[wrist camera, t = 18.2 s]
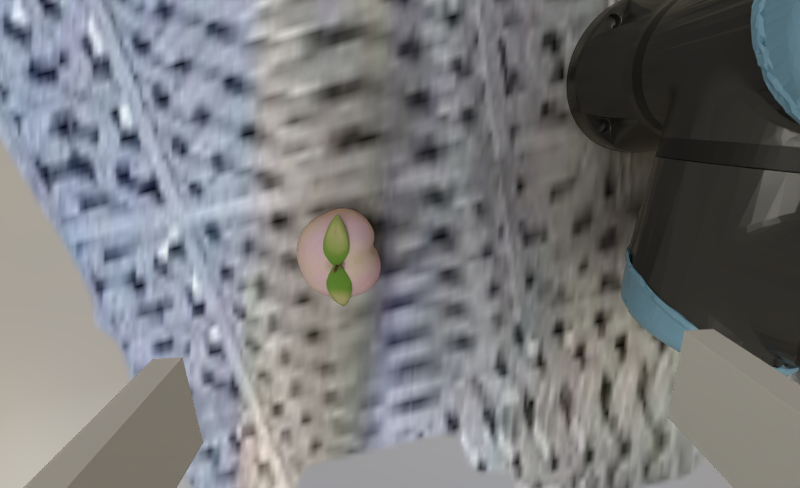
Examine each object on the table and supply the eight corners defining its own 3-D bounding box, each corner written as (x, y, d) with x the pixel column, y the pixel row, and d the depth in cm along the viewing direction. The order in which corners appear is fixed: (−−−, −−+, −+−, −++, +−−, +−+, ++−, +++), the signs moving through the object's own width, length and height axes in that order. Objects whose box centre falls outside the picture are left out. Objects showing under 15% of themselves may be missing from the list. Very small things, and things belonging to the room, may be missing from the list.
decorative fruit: (298, 208, 44) (273, 232, 35) (370, 194, 44) (364, 214, 34) (319, 283, 47) (301, 325, 37) (387, 271, 47) (385, 309, 37)
